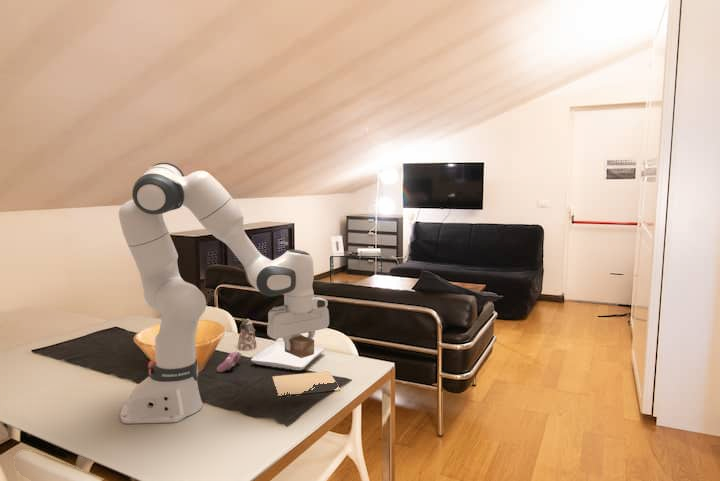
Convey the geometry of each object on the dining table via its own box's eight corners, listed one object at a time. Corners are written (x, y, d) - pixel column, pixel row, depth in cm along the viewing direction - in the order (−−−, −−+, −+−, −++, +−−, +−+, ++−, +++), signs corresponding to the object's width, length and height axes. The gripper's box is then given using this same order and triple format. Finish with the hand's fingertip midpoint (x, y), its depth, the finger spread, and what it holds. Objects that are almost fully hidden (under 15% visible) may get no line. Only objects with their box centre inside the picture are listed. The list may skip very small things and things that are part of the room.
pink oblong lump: (225, 377, 181) (234, 361, 180) (214, 371, 181) (222, 354, 180) (237, 367, 191) (245, 351, 189) (227, 361, 191) (234, 345, 190)
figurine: (247, 352, 202) (247, 322, 201) (234, 348, 206) (233, 319, 204) (260, 347, 208) (259, 318, 207) (246, 343, 212) (246, 315, 211)
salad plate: (303, 375, 181) (303, 366, 180) (249, 367, 187) (249, 358, 187) (325, 355, 201) (325, 347, 200) (276, 349, 207) (276, 340, 207)
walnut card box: (301, 358, 153) (301, 342, 153) (284, 351, 159) (284, 336, 158) (314, 354, 157) (314, 339, 156) (297, 347, 163) (297, 333, 162)
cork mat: (278, 397, 162) (278, 395, 162) (272, 377, 178) (272, 376, 178) (340, 390, 168) (340, 389, 168) (329, 372, 183) (329, 371, 183)
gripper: (273, 310, 147) (274, 357, 149) (332, 300, 160) (331, 343, 162) (263, 305, 152) (263, 351, 154) (320, 296, 165) (320, 338, 167)
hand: (298, 347), depth 158 cm, fingers closed on walnut card box, 5 cm apart
